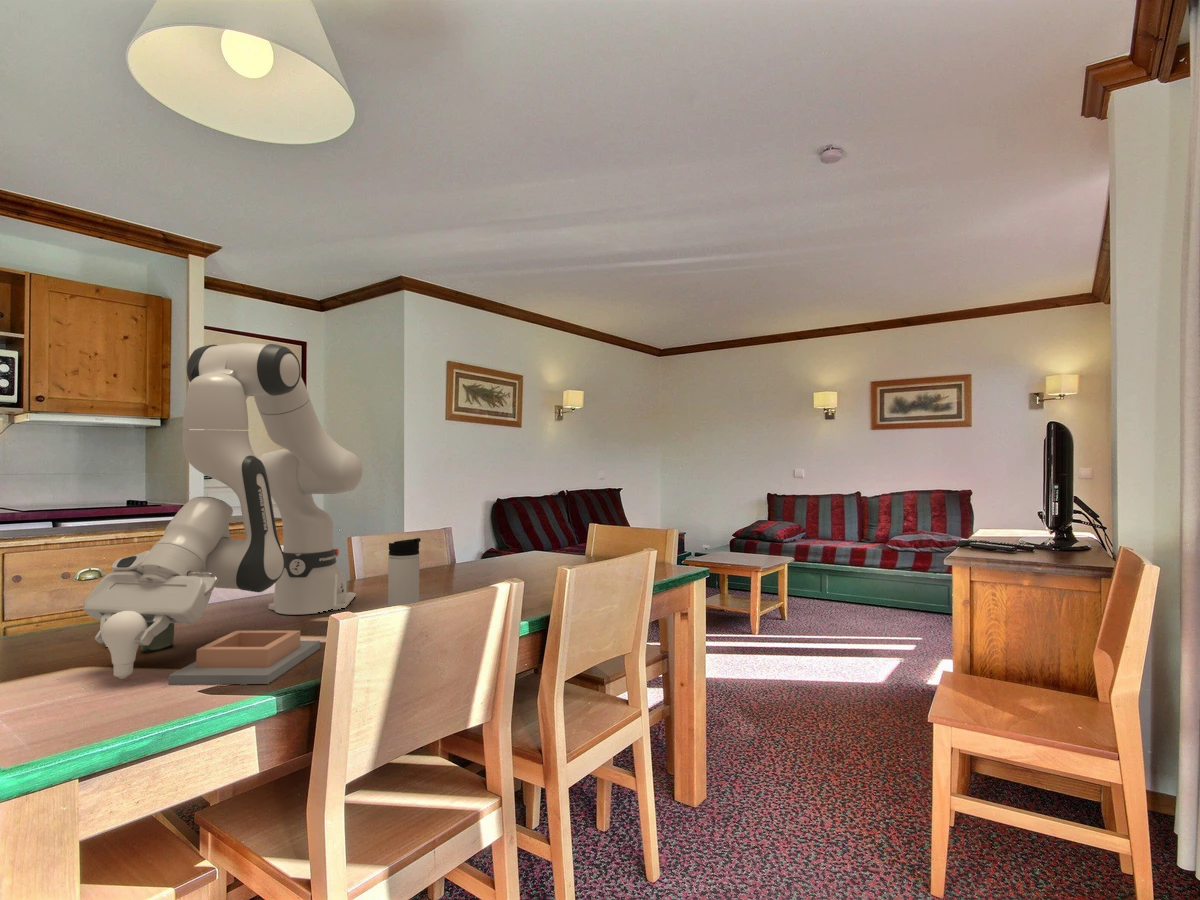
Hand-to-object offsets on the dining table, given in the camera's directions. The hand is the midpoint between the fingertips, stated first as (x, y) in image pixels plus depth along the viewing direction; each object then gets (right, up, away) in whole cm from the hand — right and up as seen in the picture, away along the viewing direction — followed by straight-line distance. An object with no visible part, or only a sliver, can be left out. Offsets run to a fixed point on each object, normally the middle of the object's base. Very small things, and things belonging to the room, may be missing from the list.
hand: (120, 642), depth 105 cm
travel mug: (+37, -7, +31) cm, 49 cm away
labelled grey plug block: (-7, -7, +18) cm, 21 cm away
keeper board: (+16, -7, +10) cm, 20 cm away
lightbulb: (0, -6, +1) cm, 6 cm away
